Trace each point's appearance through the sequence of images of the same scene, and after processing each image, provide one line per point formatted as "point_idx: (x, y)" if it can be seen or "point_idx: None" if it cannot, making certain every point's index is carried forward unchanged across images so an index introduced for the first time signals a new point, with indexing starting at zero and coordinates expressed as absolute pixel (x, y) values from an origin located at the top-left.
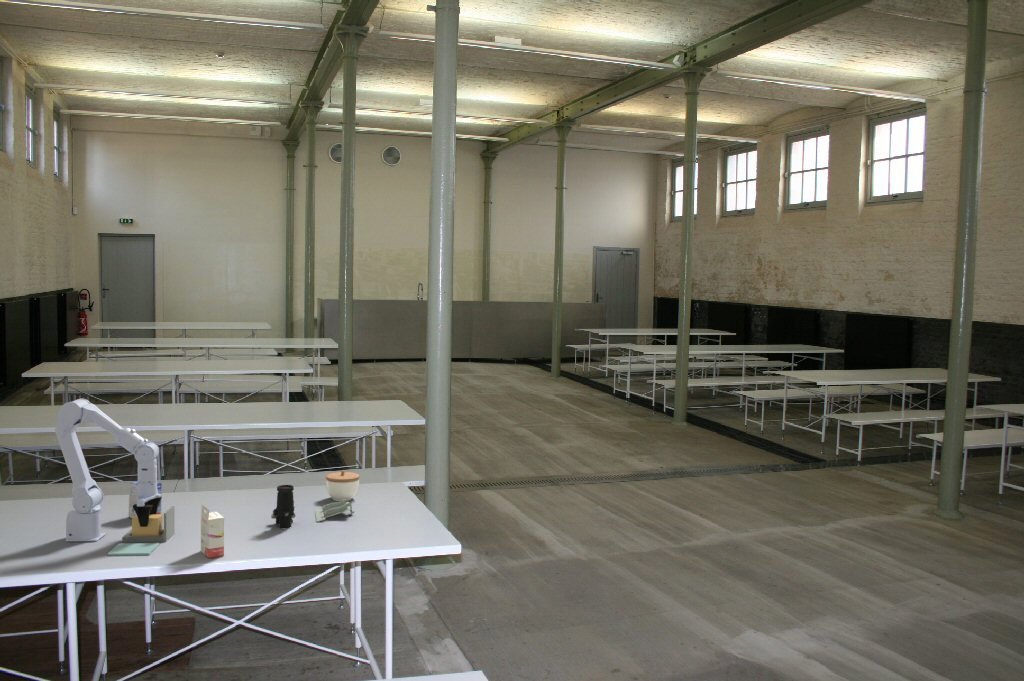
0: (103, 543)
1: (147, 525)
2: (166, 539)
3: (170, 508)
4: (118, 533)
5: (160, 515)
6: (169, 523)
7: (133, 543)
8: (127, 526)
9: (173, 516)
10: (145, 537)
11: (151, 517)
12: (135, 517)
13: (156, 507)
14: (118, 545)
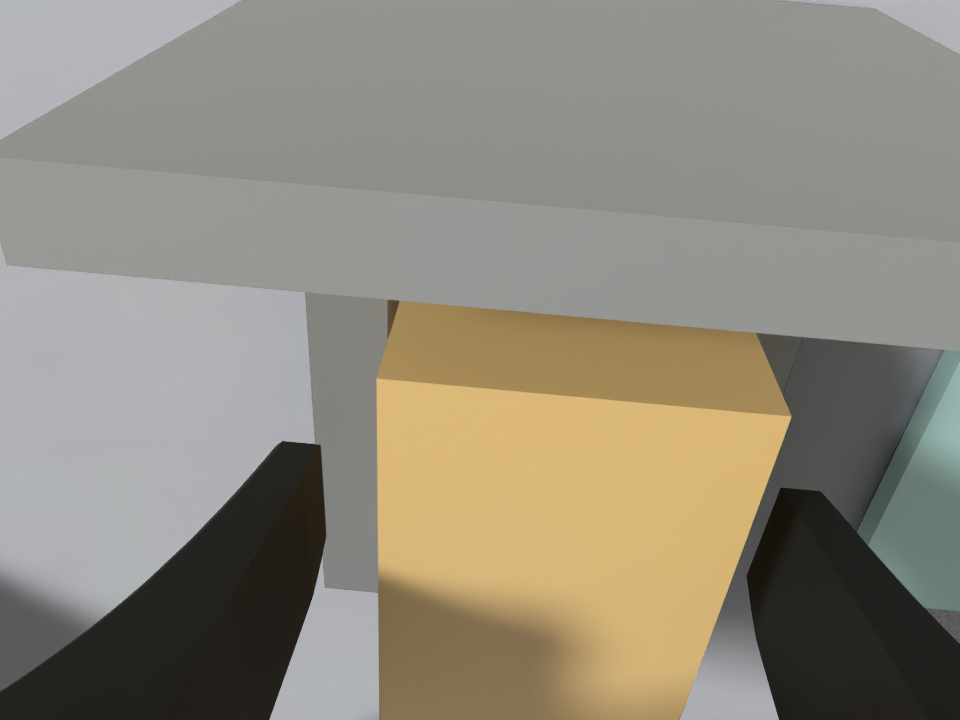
0: (691, 696)
1: (817, 500)
2: (879, 16)
3: (423, 254)
4: (321, 642)
5: (484, 411)
6: (713, 67)
7: (910, 469)
8: (41, 611)
9: (272, 56)
10: (784, 382)
11: (663, 559)
12: None
13: (209, 649)
14: (929, 594)
